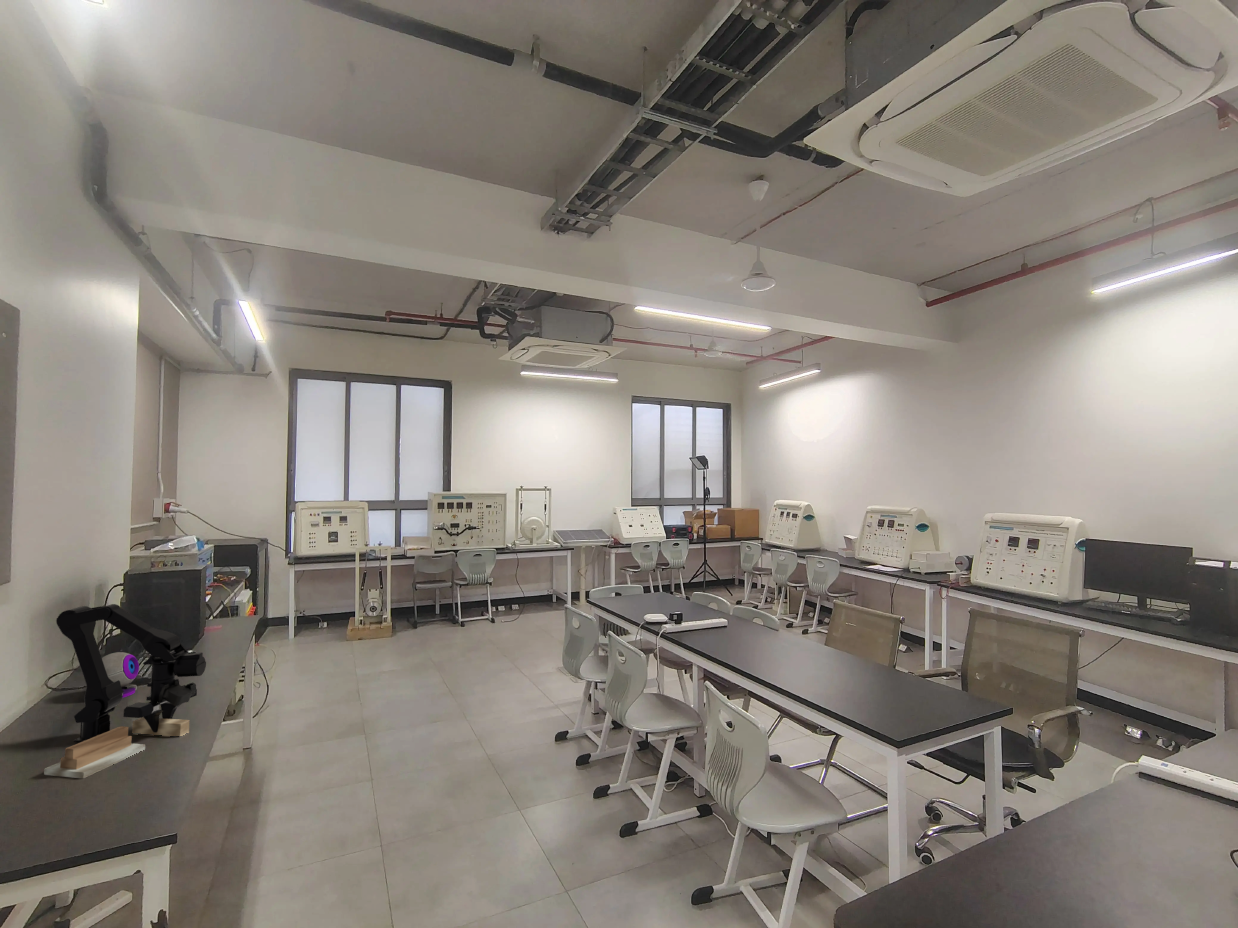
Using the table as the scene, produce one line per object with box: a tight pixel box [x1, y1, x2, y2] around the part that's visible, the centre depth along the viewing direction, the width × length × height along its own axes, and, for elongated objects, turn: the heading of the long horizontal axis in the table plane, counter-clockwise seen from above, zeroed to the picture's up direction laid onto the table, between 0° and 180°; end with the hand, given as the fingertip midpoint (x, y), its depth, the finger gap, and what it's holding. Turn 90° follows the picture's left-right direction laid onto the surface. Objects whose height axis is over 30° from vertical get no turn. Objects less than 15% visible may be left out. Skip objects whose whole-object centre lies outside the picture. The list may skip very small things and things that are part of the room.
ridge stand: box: [43, 725, 146, 779], centre depth 152 cm, size 12×16×6 cm
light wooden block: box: [131, 717, 191, 737], centre depth 169 cm, size 16×3×4 cm, turn 84°
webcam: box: [101, 651, 140, 699], centre depth 200 cm, size 13×13×15 cm
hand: (160, 729), depth 169 cm, fingers closed on light wooden block, 3 cm apart
